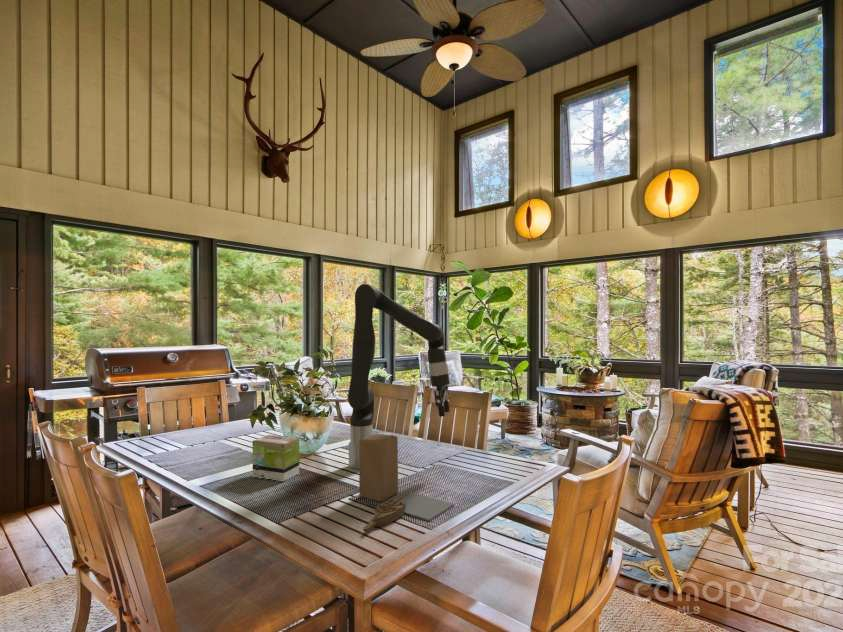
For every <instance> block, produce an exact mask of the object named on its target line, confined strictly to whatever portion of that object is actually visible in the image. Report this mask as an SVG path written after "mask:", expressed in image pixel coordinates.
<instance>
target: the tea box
mask: <svg viewBox="0 0 843 632" xmlns="http://www.w3.org/2000/svg"><path fill="white" fill-rule="evenodd" d="M251 445H252V477H253V476H255V477H263V478H269V479H275V480H281V481H285V480H287V479H289V478H291V477H293V476H295V475H297V474H298V475H300V438H299V437H291V436H284V435H283V436H282V435H276V434H275V435H272V434H267V435H265V436H262V437H260V438H257V439H254V440H252V444H251ZM298 475H297V476H298ZM295 477H296V476H295ZM293 478H294V477H293ZM291 479H292V478H291Z"/></svg>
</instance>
